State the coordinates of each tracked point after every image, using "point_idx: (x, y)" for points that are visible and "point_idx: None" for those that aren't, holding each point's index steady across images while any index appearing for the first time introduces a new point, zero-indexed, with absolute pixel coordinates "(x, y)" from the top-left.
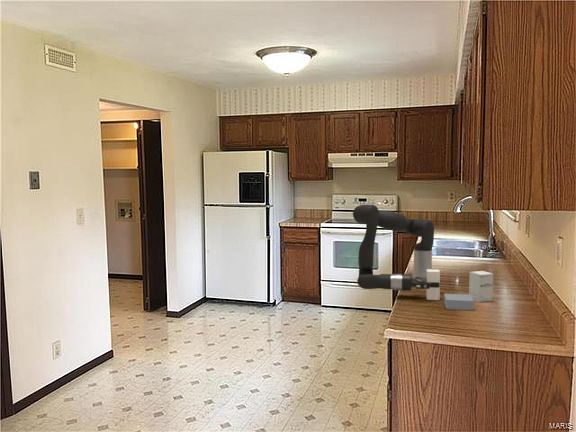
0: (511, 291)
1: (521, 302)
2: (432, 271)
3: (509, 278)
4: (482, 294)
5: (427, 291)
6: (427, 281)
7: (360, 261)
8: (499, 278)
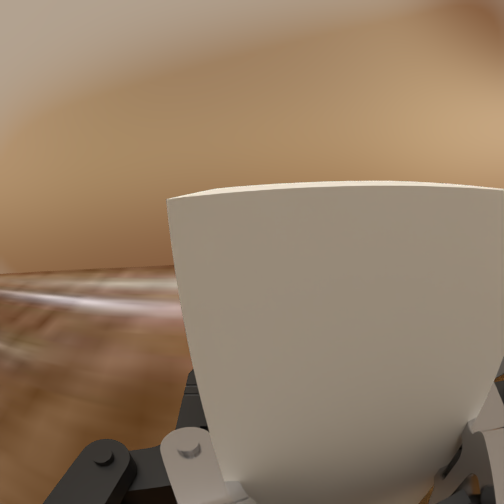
0: (136, 277)
1: None
2: (438, 183)
3: (30, 276)
4: None
5: (416, 498)
6: (478, 406)
7: None
8: (19, 284)
